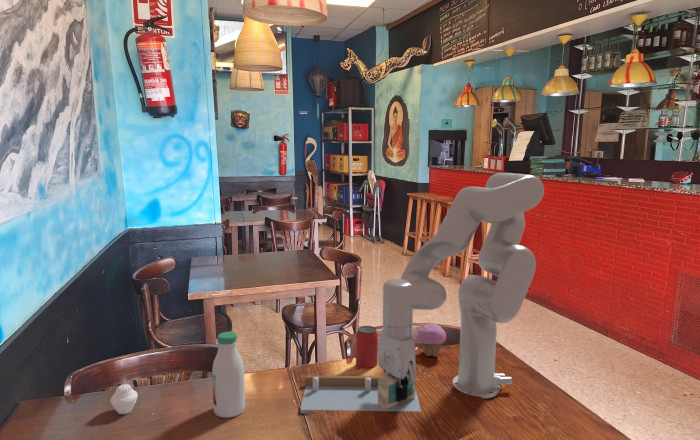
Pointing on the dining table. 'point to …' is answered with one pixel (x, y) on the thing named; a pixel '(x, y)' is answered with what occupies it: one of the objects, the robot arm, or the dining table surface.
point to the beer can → (366, 347)
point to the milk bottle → (228, 378)
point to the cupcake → (431, 339)
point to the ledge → (347, 395)
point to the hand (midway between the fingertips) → (396, 396)
